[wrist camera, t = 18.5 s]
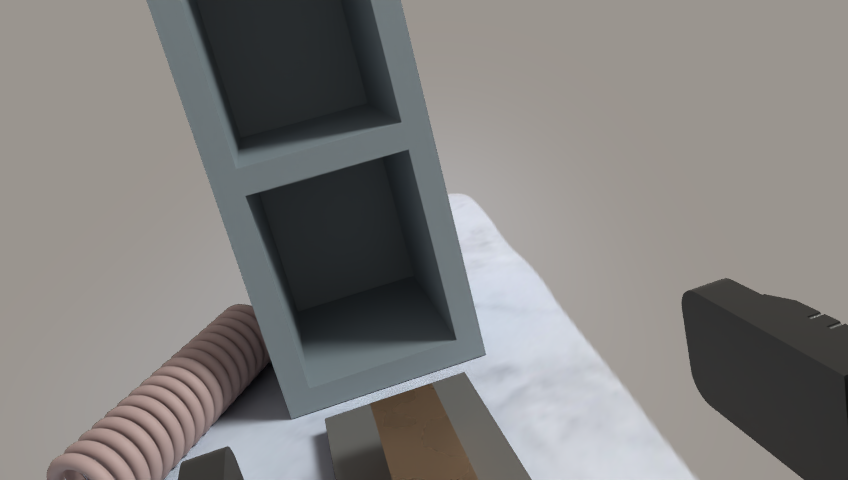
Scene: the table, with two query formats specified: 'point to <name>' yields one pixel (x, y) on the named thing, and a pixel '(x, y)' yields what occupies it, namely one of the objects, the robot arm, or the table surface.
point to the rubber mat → (474, 425)
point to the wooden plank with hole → (420, 437)
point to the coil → (170, 405)
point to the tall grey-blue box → (326, 188)
